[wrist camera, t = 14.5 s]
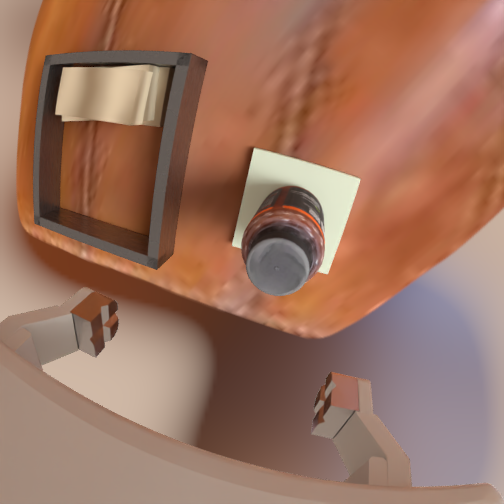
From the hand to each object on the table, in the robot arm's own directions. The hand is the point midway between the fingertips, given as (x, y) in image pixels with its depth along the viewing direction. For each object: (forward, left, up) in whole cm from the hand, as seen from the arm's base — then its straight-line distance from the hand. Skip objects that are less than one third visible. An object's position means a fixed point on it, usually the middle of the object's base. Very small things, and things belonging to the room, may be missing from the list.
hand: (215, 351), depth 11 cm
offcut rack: (+20, -1, -21) cm, 29 cm away
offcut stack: (+19, -7, -22) cm, 30 cm away
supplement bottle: (-1, +1, -21) cm, 21 cm away
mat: (-1, +1, -21) cm, 21 cm away
